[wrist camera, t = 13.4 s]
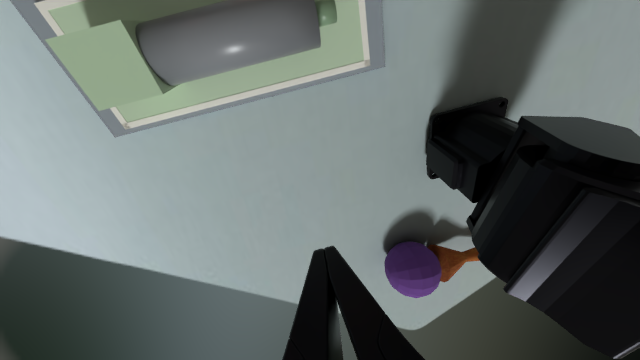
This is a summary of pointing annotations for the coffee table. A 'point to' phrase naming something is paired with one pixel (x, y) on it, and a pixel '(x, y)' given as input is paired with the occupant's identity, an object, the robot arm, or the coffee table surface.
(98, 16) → the grey compartment tray
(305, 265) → the coffee table surface
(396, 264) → the kendama
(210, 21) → the marker
